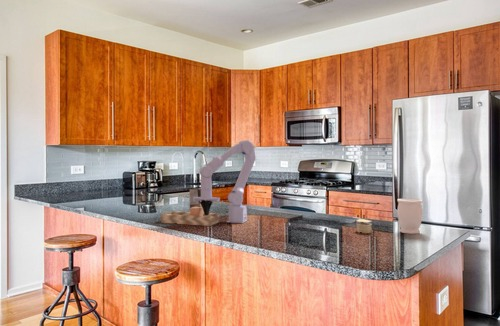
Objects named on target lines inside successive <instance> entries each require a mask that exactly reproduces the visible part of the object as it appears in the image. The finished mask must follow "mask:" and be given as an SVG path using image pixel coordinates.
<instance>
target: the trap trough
mask: <svg viewBox="0 0 500 326" xmlns="http://www.w3.org/2000/svg"><path fill="white" fill-rule="evenodd" d="M219 222H220V213H218V212H216V213H213V212H209V215H205V214H204V213H203V216H190V211H177V210H176V211H175V210H170V211H168V212H163V213H161V214H160V223H161V224H174V223H177V225H191V226H192V225H193V226H205V227H207V226H208V227H211V226H213V225H216V224H218V223H219Z"/></svg>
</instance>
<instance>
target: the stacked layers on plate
mask: <svg viewBox="0 0 500 326" xmlns="http://www.w3.org/2000/svg"><path fill="white" fill-rule="evenodd" d="M371 222H372V220H368V219H364V218H363V219H362V218H361V219H360V218H359V219H356V223H355V224H356V227H355V228H356V232H357V233H360V232H362V233H363V234H367V233H368V234H370V233H372V229H373V228H372V226H373V224H372V223H371ZM362 233H361V234H362Z"/></svg>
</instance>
